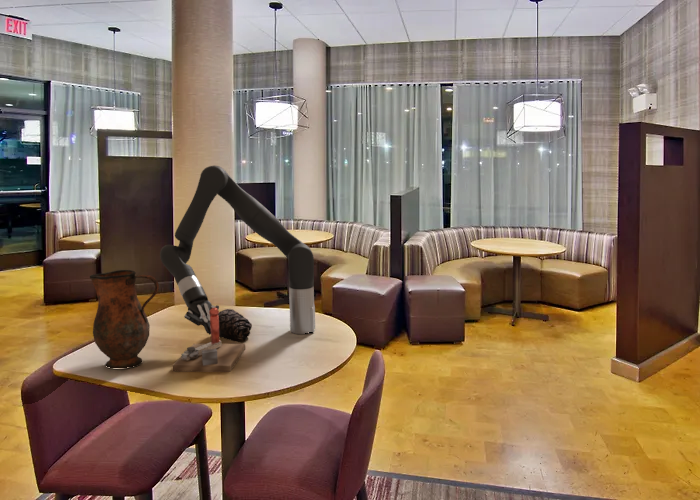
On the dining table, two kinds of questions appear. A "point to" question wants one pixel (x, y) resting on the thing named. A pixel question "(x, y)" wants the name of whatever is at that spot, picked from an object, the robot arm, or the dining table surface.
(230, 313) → the pine cone
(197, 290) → the robot arm
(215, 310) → the lever
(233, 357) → the base
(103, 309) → the pitcher
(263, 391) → the dining table surface
